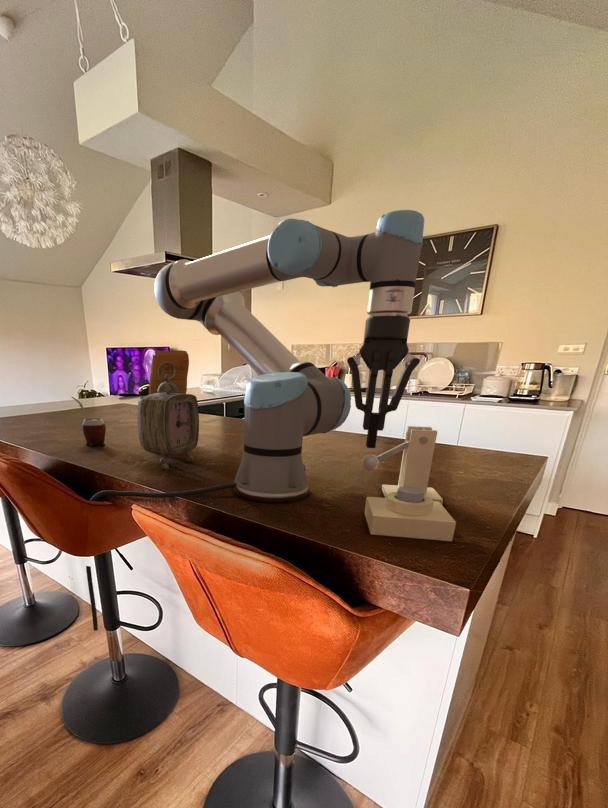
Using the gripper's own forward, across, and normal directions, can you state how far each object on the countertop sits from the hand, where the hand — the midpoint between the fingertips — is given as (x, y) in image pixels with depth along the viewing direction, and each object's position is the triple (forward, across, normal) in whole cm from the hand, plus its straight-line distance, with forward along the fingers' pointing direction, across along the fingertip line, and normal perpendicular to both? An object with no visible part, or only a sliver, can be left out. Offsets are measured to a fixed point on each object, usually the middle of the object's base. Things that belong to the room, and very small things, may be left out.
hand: (370, 446), depth 84 cm
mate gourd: (+11, -78, +32) cm, 85 cm away
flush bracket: (+10, +9, 0) cm, 13 cm away
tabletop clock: (+10, -47, +14) cm, 50 cm away
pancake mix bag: (+10, -54, +35) cm, 65 cm away
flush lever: (+2, +5, 0) cm, 6 cm away
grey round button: (+5, +5, -17) cm, 19 cm away
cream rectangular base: (+10, +5, -17) cm, 20 cm away
